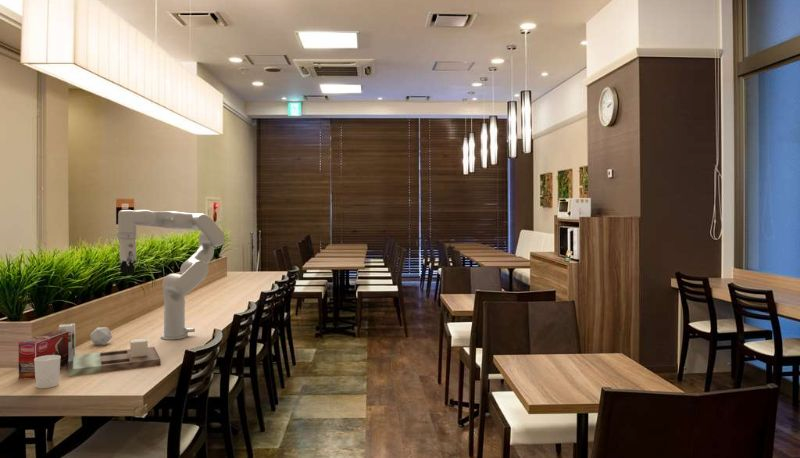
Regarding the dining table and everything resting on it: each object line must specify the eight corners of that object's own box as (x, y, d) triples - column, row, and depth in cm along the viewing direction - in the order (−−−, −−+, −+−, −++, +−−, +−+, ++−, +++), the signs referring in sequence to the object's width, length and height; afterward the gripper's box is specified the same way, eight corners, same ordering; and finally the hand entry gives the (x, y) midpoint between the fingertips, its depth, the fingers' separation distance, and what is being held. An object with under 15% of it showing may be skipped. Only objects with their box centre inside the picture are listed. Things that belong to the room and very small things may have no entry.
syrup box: (58, 361, 223) (58, 326, 223) (59, 357, 229) (59, 323, 228) (74, 359, 226) (74, 325, 226) (75, 356, 231) (75, 322, 231)
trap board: (154, 352, 239) (154, 340, 239) (160, 365, 219) (160, 351, 219) (69, 361, 223) (69, 348, 223) (68, 376, 203) (68, 361, 203)
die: (96, 348, 247) (110, 330, 250) (82, 338, 248) (96, 321, 251) (105, 351, 254) (119, 333, 257) (91, 341, 256) (105, 324, 259)
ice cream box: (36, 378, 200) (35, 343, 200) (18, 378, 200) (18, 342, 200) (68, 363, 220) (68, 331, 220) (52, 363, 220) (52, 331, 220)
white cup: (42, 382, 196) (42, 355, 195) (65, 382, 196) (64, 354, 196) (29, 389, 188) (29, 360, 187) (53, 389, 188) (52, 360, 188)
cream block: (146, 352, 230) (146, 338, 230) (147, 355, 225) (147, 341, 224) (130, 353, 227) (130, 339, 227) (131, 357, 222) (131, 342, 221)
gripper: (141, 237, 247) (141, 274, 247) (130, 235, 259) (130, 271, 260) (124, 237, 242) (124, 275, 242) (113, 236, 254) (113, 272, 255)
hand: (127, 273), depth 251 cm, fingers open, 9 cm apart
